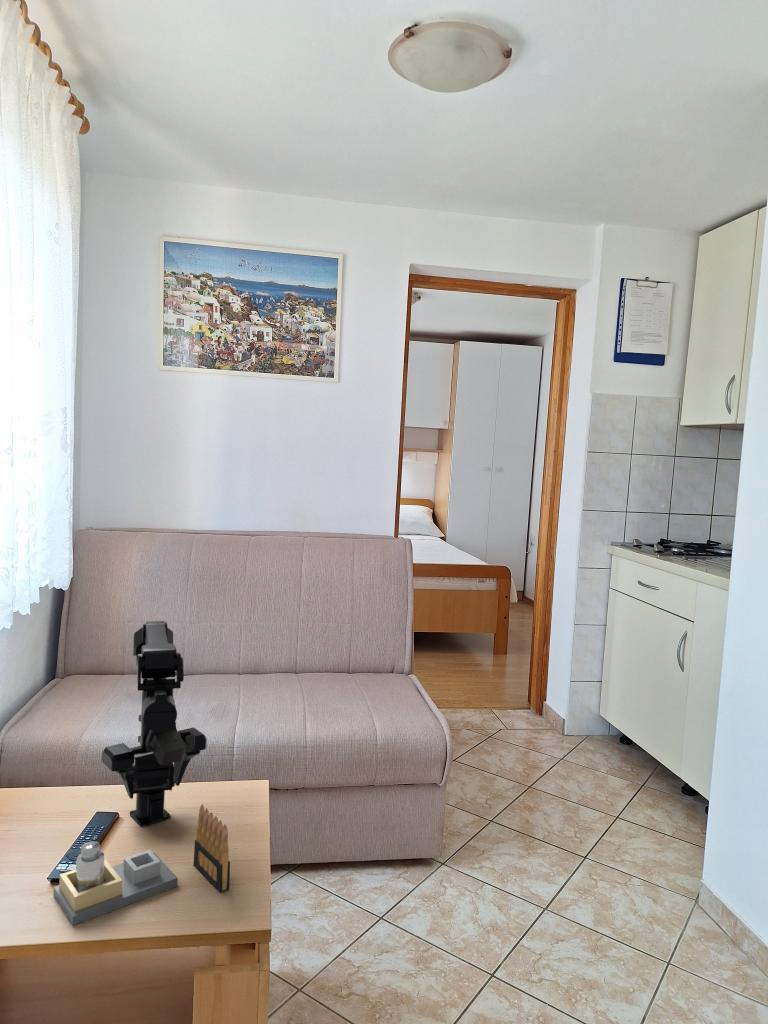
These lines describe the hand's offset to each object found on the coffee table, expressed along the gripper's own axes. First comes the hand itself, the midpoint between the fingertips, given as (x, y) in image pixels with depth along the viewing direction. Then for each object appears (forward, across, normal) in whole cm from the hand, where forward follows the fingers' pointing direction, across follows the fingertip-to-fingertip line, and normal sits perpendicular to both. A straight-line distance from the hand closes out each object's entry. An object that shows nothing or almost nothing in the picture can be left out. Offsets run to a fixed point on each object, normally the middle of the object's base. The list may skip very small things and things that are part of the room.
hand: (154, 791), depth 135 cm
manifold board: (+12, -10, -8) cm, 18 cm away
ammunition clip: (+12, +5, -14) cm, 19 cm away
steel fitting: (+10, -14, -8) cm, 20 cm away
